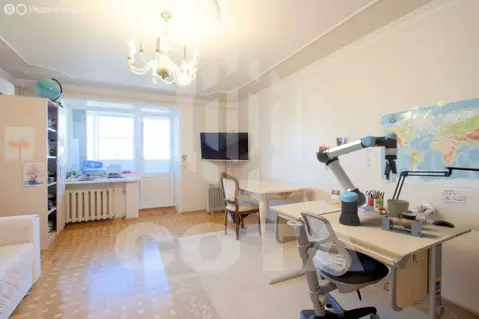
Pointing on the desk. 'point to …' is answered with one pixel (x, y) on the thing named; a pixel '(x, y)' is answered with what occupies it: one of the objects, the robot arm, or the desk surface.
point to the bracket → (413, 232)
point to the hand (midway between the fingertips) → (390, 183)
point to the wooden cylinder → (401, 222)
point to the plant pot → (397, 207)
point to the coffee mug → (408, 217)
